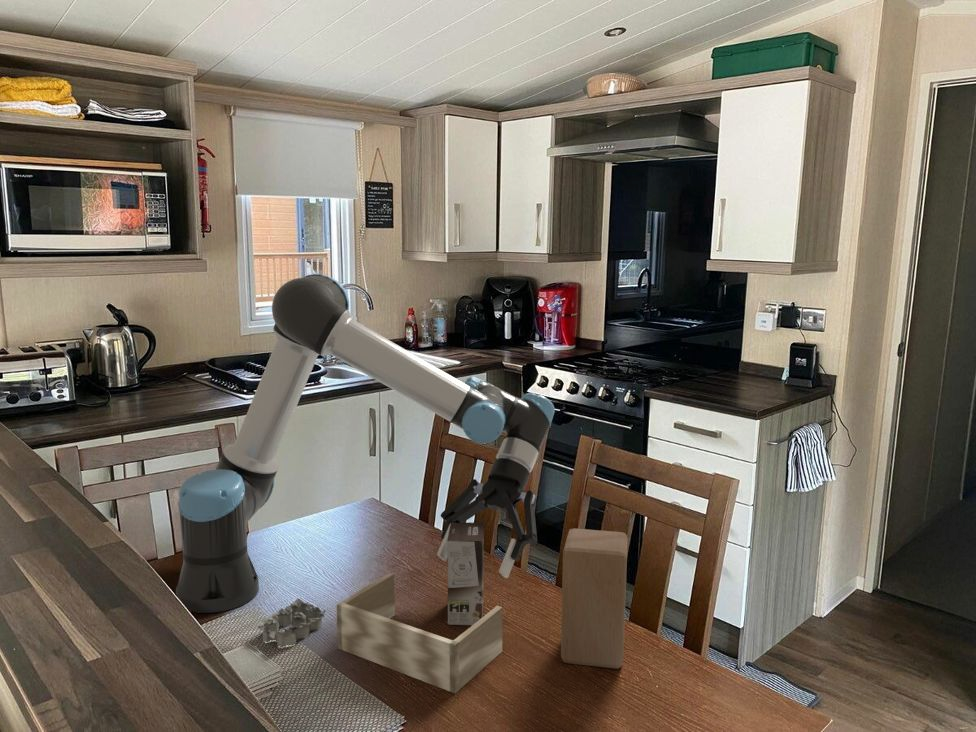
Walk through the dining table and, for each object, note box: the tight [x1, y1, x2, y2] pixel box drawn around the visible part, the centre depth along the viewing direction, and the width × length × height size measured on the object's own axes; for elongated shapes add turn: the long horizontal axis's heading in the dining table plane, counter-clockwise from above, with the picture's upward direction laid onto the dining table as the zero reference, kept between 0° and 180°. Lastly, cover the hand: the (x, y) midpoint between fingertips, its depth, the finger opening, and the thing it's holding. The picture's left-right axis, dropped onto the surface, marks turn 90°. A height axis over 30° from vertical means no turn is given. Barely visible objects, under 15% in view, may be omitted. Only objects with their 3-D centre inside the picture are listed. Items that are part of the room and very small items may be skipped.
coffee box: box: [447, 521, 485, 626], centre depth 139 cm, size 9×6×16 cm
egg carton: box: [257, 598, 327, 647], centre depth 134 cm, size 11×8×4 cm
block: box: [560, 528, 629, 670], centre depth 126 cm, size 10×10×20 cm
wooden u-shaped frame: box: [336, 572, 503, 694], centre depth 127 cm, size 24×14×8 cm, turn 58°
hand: (471, 566), depth 139 cm, fingers open, 13 cm apart
